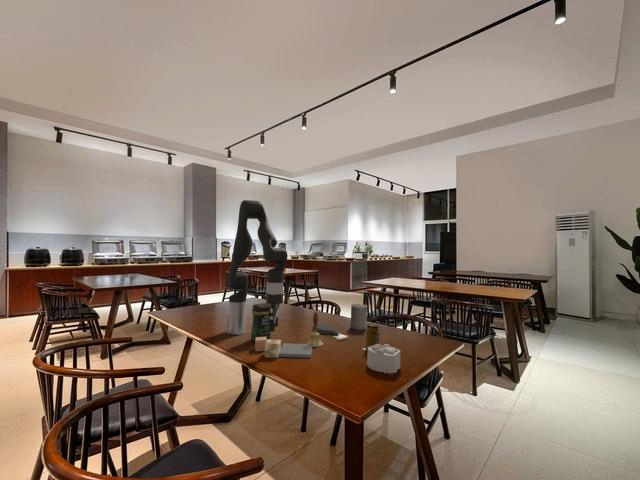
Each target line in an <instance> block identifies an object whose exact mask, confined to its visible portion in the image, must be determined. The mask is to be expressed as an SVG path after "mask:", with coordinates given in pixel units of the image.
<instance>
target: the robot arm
mask: <svg viewBox="0 0 640 480" xmlns="http://www.w3.org/2000/svg"><path fill="white" fill-rule="evenodd" d="M256 219H257V220H258V222H259V225H258V228H257V237H258V240H259V242H260V244H261V245H262V246H261V247H262V253H263V258H264V261H265V262H267V263H268V264H275V266H274V267H273V268H270V269H268V270H267V273H266V274H267V277H266V279H267V282H266V290H265V303H268V304H271V307H270V308H269V315H268V322H269V323H270V325H269V331H270V333H272V332H273V333H274V332H275V331H276V330H275V329H276V328H278V326H279V318H280V305H281V304H283V302H284V272H285V269H286V268H285V267H286V265H287V261H288V258H289V257H288V252H287V250H286V249H285V248H283V247H276V246H277V244H278V242H277V237H276V236H275V234H274V233H273V231H272V228H271V226H270V223H269V220H268V216H267V213H266V209H265V208H264V205H263V203H262V202H261V201H259V200H250V199H249V200H248V199H247V200H245V199H244V200H242V201H241V202H240V205H239V211H238V219H237V220H238V222H237V228H236V229H237V230H236V235H235V240H234V244H233V248H232V254H231V261H230V265H229V270H228V272H227V275H226V287H227V288H228V289H230V290H238V291H237V292H235V293H232V294H231V295H229V297H228V315H227V316H226V334H228V335H235V336H237V335H242V334H245V333H246V320H247V319H246V316H247V315H246V314H247V313H246V312H247V296H248V284H249V283H248V282H249V277H248V276H249V275H248V274H247V272H245V271H238V270H239V268H240V267H241V266H242V264H243V263H245V261H246V260H248V258H249V257H250V255H251V254H252V247H253V239H252V237H251V234H250V231H249V229H248V220H256ZM275 327H276V328H275Z"/></svg>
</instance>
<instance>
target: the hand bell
mask: <svg viewBox="0 0 640 480" xmlns="http://www.w3.org/2000/svg"><path fill="white" fill-rule="evenodd" d="M312 316H313V317H312V323H313V326H314V330H313V332H311V333H310V337H309V339H308V341H307V342H306V344H313V345H312V348H318V347H319V348H320V347H322V346H323V345H324V342H322V340H321V336H320V335H321V334H320V333H318V332H317V325H318V323H319V316H318V312H317V311H314V312H313V315H312Z"/></svg>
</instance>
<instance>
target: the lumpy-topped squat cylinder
mask: <svg viewBox="0 0 640 480" xmlns="http://www.w3.org/2000/svg"><path fill="white" fill-rule="evenodd" d="M366 357H367V359H366V360H367V361H366V362H367V363H366V366H367V368H369V369H370V370H372V371H374V370H375V371H374V372H378V371H379V373H381V372H384V373H383V374H386V373H389V374H388V375H391V374H390V373H396V372H398V371H399V370H398V369H401V350H400V349H398V348H396V347H392V346H391V345H390V344H387V343H385V344H376V345H374V346H370V347H368V352H367V356H366ZM397 370H398V371H397ZM396 374H397V373H396Z"/></svg>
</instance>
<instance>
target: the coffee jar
mask: <svg viewBox="0 0 640 480" xmlns="http://www.w3.org/2000/svg"><path fill="white" fill-rule="evenodd" d="M270 307H271V304H268V303H266V302H263V303H257V304H253V305H252V309H251V311H252V327H251V335H250V339H251V341H253V342H255V338H256V337H266V338H267V340H268V339H271V332H270V331H269V325H270V323H269V322H268V315H269V308H270Z"/></svg>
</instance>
